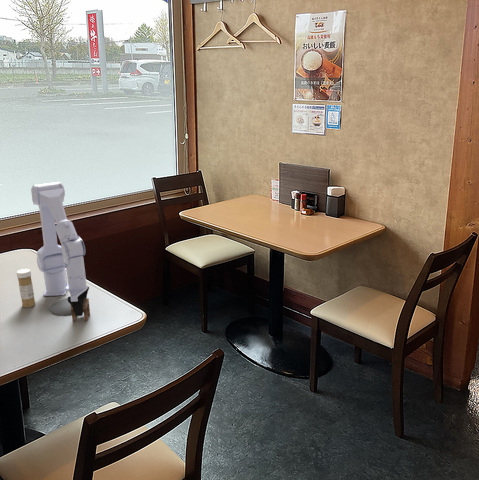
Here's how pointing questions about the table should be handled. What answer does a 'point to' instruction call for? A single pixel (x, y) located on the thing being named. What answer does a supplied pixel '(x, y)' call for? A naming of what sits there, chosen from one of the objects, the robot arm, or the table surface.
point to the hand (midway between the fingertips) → (80, 311)
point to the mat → (61, 307)
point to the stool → (85, 310)
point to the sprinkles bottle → (26, 287)
